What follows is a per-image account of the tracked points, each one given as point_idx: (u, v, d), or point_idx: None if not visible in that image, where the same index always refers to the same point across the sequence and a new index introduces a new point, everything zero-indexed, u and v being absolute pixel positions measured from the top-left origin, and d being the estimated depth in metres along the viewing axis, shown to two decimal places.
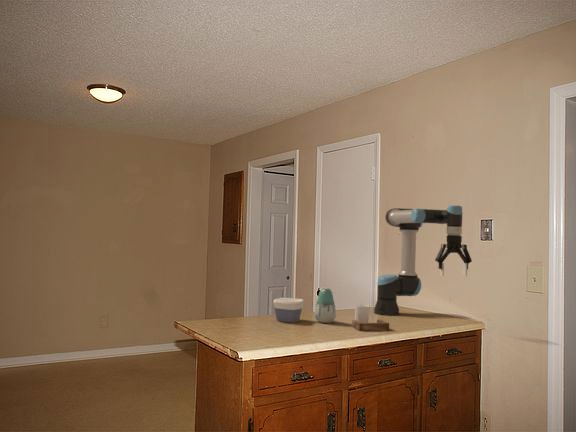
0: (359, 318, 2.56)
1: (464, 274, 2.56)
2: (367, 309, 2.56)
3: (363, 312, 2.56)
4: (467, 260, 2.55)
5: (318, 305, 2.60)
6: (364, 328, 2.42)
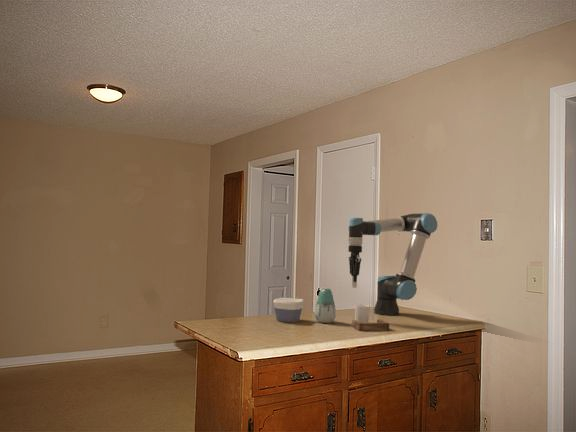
0: (359, 318, 2.56)
1: None
2: (367, 309, 2.56)
3: (363, 312, 2.56)
4: (353, 273, 2.70)
5: (318, 305, 2.60)
6: (364, 328, 2.42)
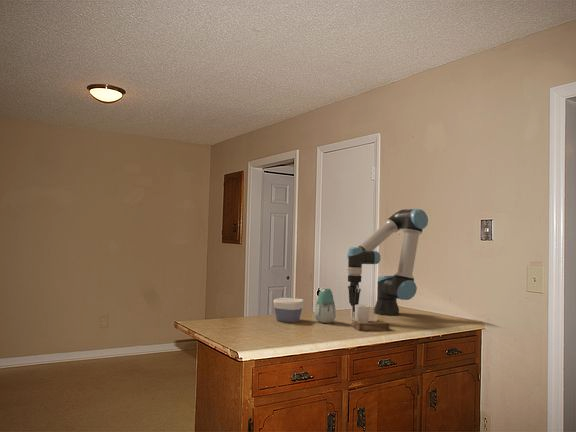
0: (359, 318, 2.56)
1: None
2: (367, 309, 2.56)
3: (363, 312, 2.56)
4: (353, 303, 2.69)
5: (318, 305, 2.60)
6: (364, 328, 2.42)
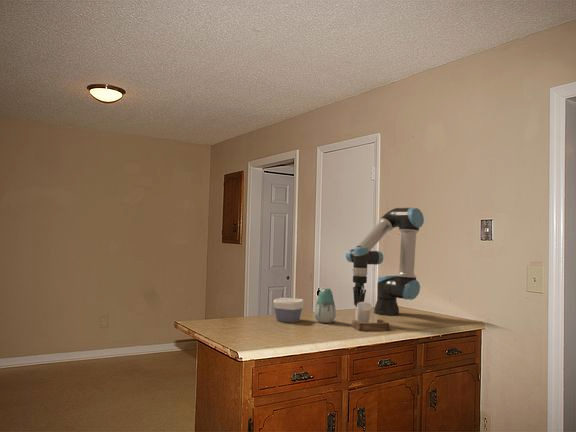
0: (360, 319, 2.55)
1: None
2: (369, 312, 2.53)
3: (365, 315, 2.53)
4: None
5: (318, 305, 2.60)
6: (364, 328, 2.42)
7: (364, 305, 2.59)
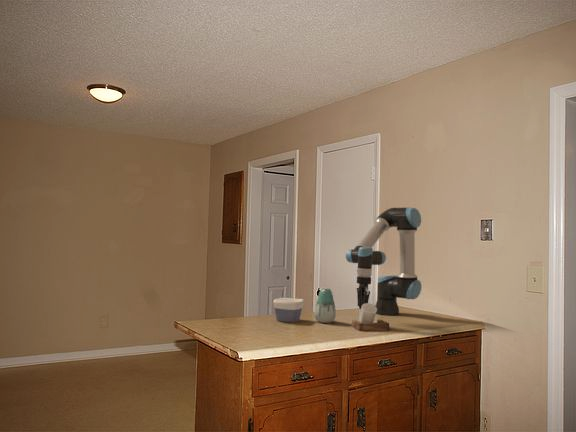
0: (364, 321, 2.49)
1: None
2: (374, 314, 2.48)
3: (370, 317, 2.47)
4: (361, 306, 2.55)
5: (318, 305, 2.60)
6: (364, 328, 2.42)
7: (368, 306, 2.53)
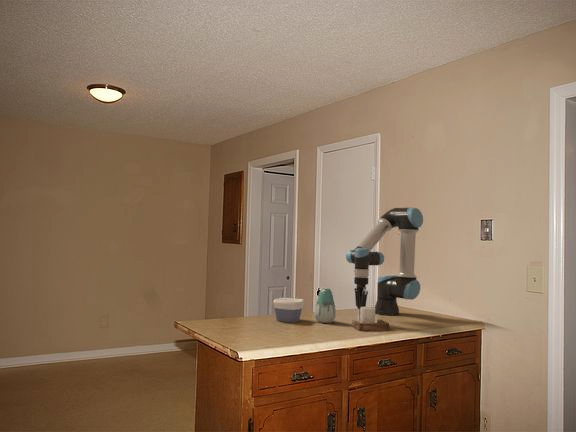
0: (365, 321, 2.49)
1: None
2: (373, 311, 2.50)
3: (370, 314, 2.49)
4: (359, 306, 2.60)
5: (318, 305, 2.60)
6: (364, 328, 2.42)
7: None
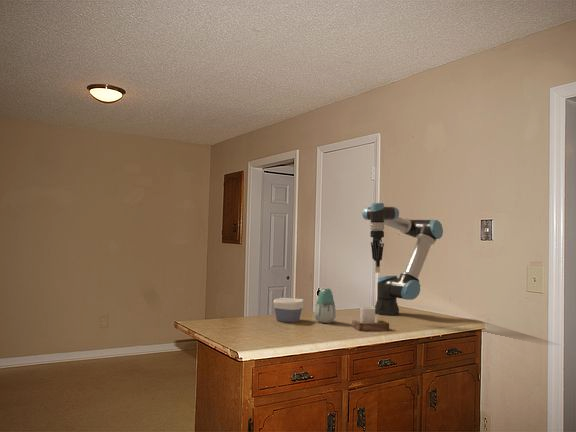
0: (365, 321, 2.49)
1: None
2: (373, 311, 2.50)
3: (370, 314, 2.49)
4: (376, 258, 2.71)
5: (318, 305, 2.60)
6: (364, 328, 2.42)
7: None
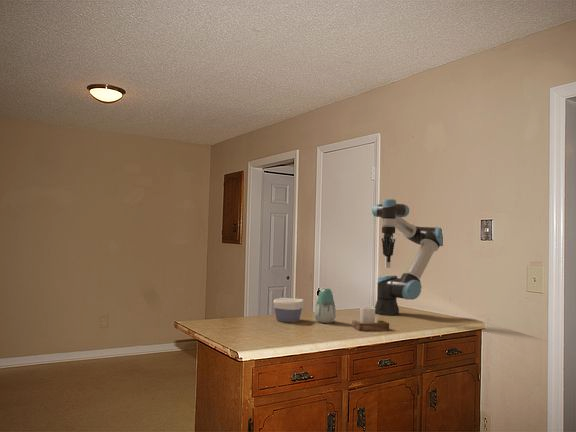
0: (365, 321, 2.49)
1: None
2: (373, 311, 2.50)
3: (370, 314, 2.49)
4: (387, 253, 2.75)
5: (318, 305, 2.60)
6: (364, 328, 2.42)
7: None
